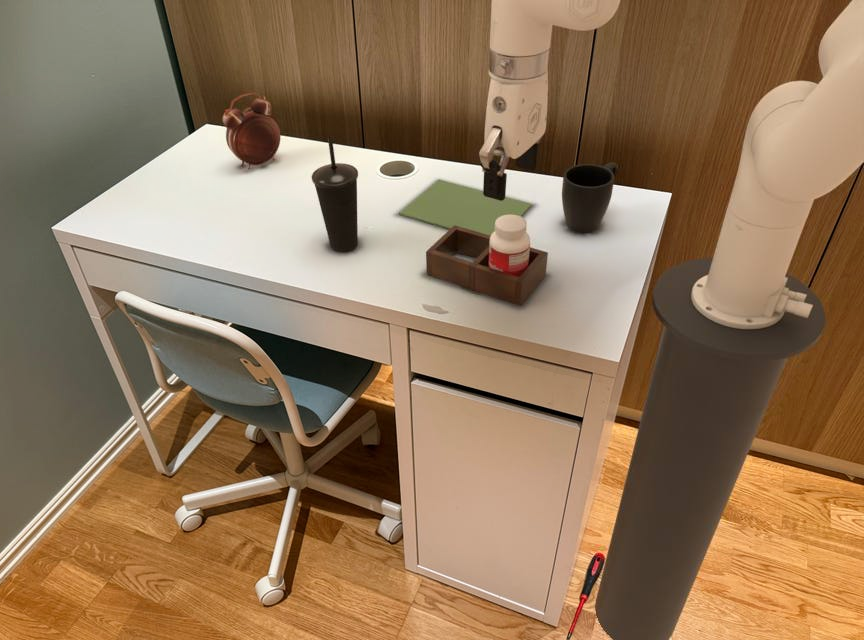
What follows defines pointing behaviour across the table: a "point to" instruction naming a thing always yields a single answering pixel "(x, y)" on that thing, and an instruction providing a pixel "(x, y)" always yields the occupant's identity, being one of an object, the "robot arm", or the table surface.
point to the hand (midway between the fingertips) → (510, 182)
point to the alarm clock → (252, 131)
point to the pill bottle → (509, 245)
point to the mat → (461, 208)
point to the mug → (587, 195)
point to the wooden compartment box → (482, 266)
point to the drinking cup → (338, 202)
